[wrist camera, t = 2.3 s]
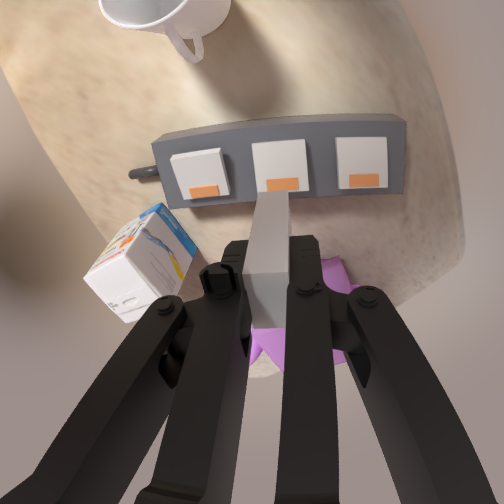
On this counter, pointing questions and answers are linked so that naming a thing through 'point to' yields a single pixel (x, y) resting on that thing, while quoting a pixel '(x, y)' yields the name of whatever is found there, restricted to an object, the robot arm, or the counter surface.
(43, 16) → the counter surface
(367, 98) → the counter surface
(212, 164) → the rocker
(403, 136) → the power strip
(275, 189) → the rocker
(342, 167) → the rocker
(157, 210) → the ink box
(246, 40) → the counter surface
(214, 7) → the mug
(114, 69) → the counter surface
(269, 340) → the teapot
